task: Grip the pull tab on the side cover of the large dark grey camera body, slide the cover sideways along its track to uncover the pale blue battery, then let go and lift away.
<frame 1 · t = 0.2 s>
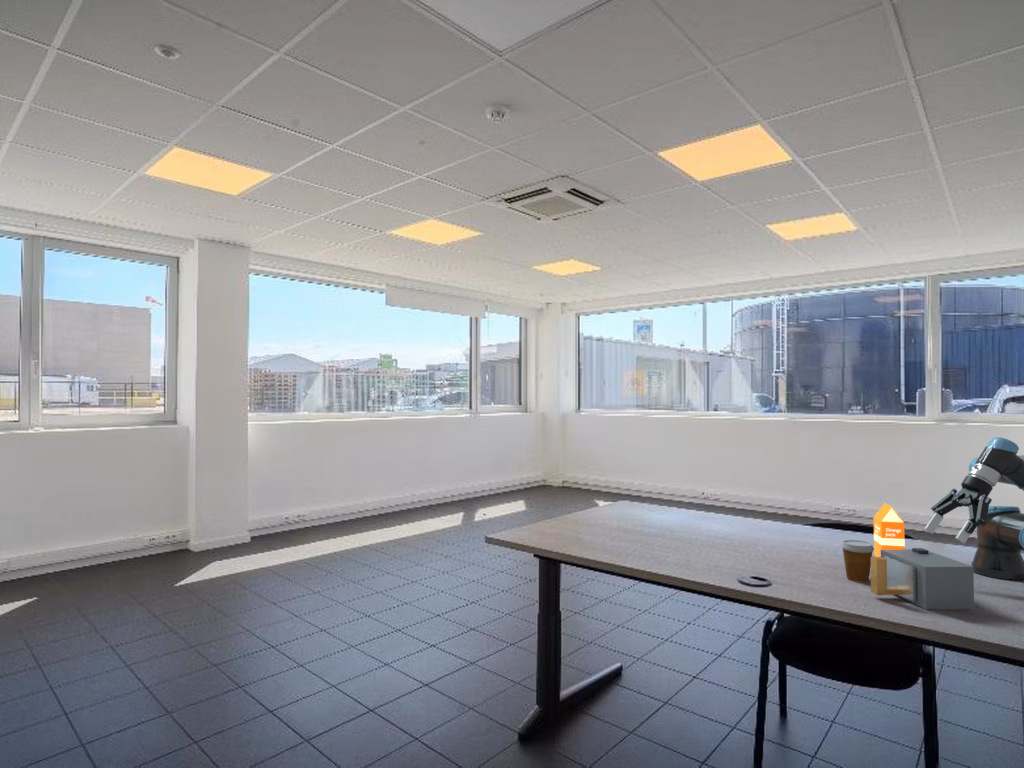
hand: (943, 536, 193), 16 cm above the table, tool tilted 35°, fingers open, 13 cm apart
disposable coffee cup: (857, 580, 201), on the table
side cover: (887, 576, 182), point 6 cm above the table, slide at 0.0 cm
orange juice: (889, 559, 227), on the table
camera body: (925, 597, 182), on the table
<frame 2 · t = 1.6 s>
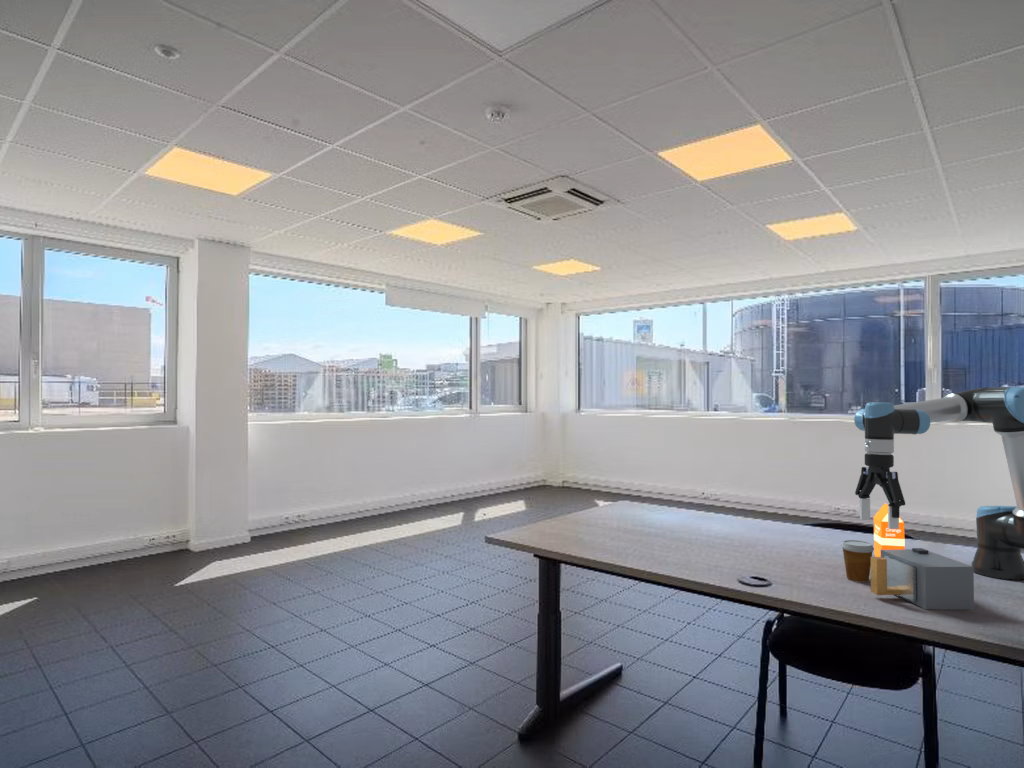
hand: (878, 524, 183), 22 cm above the table, tool pointing down, fingers open, 13 cm apart
nothing on the table moved.
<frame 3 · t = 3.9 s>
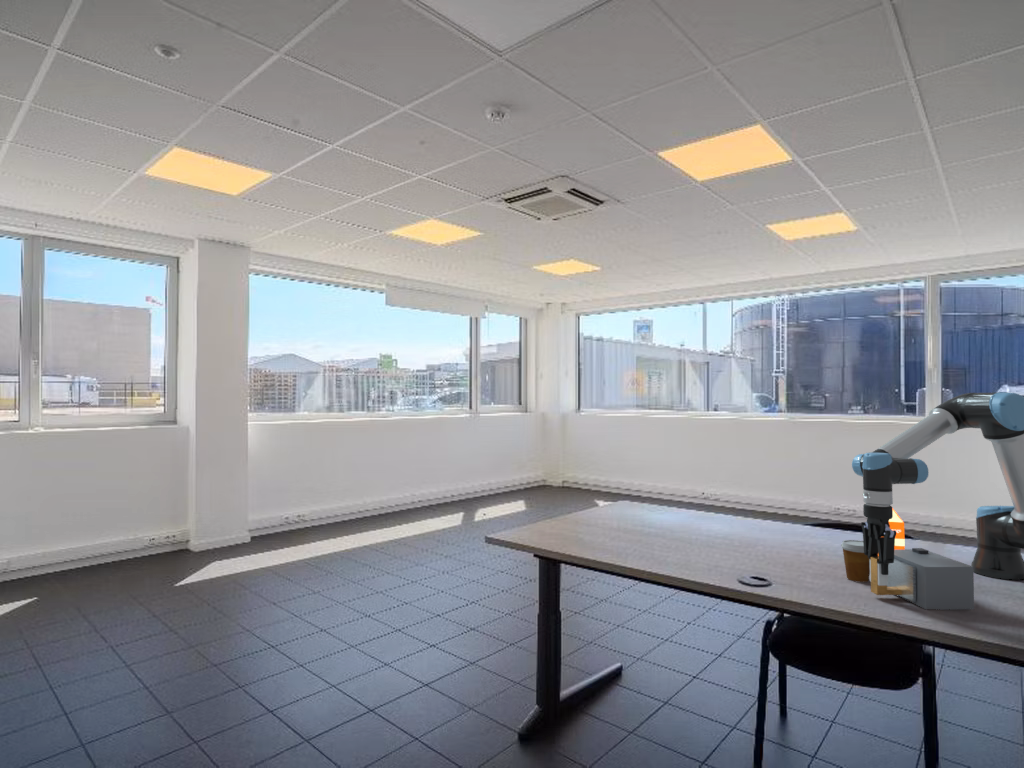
hand: (878, 583, 182), 5 cm above the table, tool pointing down, fingers closed on side cover, 3 cm apart
side cover: (887, 576, 182), point 6 cm above the table, slide at 0.0 cm, touching gripper
everything else where it was.
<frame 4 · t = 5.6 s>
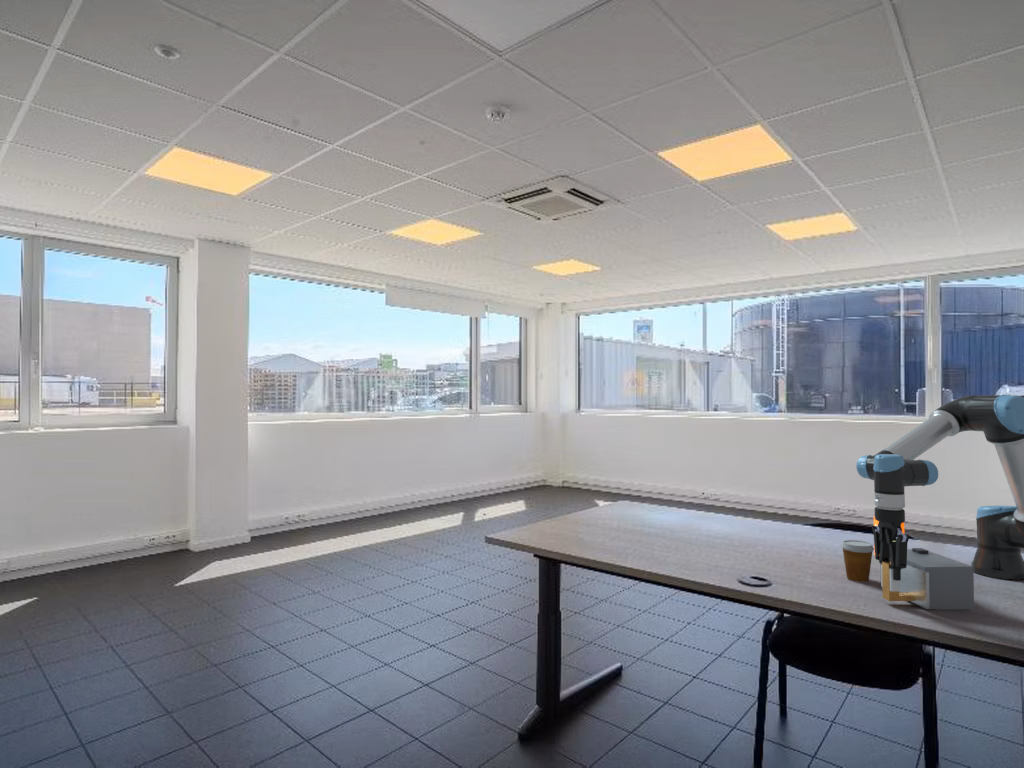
hand: (890, 588, 176), 5 cm above the table, tool pointing down, fingers closed on side cover, 3 cm apart
side cover: (899, 581, 177), point 6 cm above the table, slide at 5.5 cm, touching gripper
everything else where it was.
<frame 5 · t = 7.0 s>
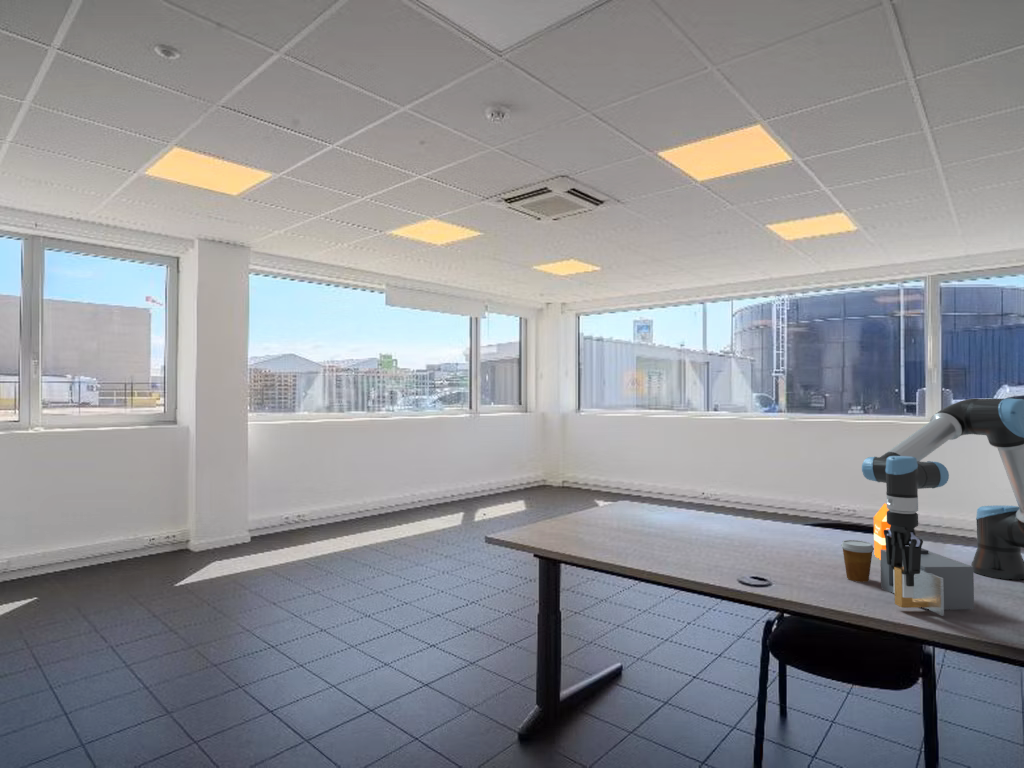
hand: (903, 594, 171), 5 cm above the table, tool pointing down, fingers closed on side cover, 3 cm apart
side cover: (912, 587, 171), point 6 cm above the table, slide at 10.9 cm, touching gripper
everything else where it was.
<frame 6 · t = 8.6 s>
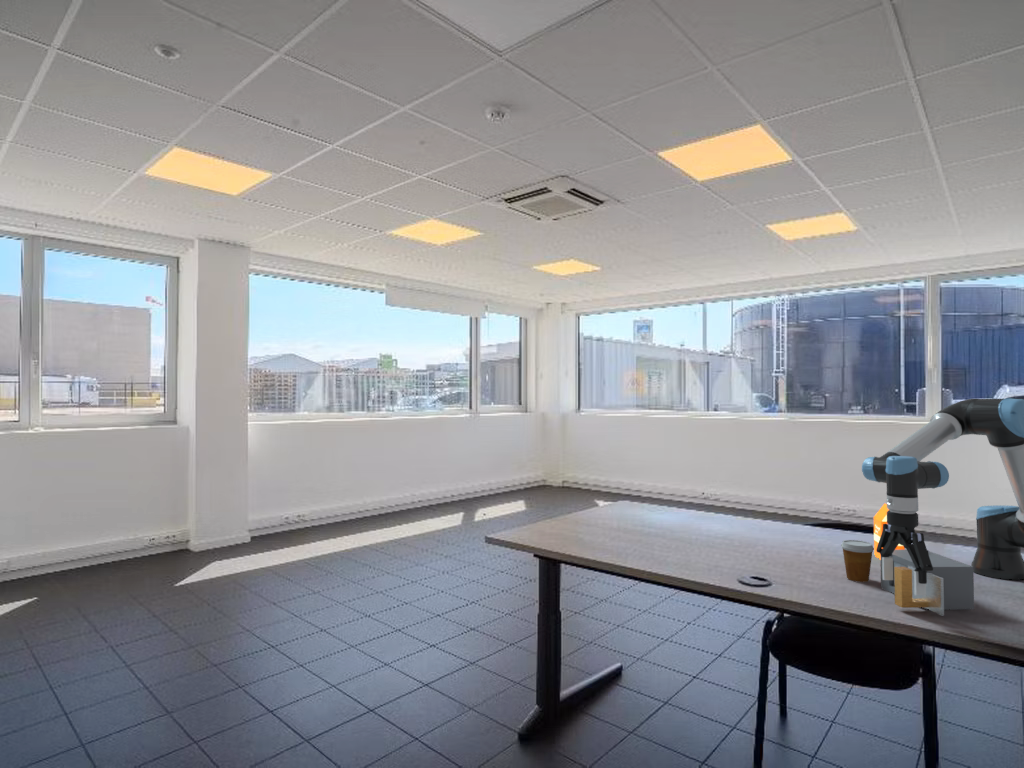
hand: (903, 587, 171), 7 cm above the table, tool pointing down, fingers open, 13 cm apart
side cover: (912, 587, 171), point 6 cm above the table, slide at 11.0 cm
everything else where it was.
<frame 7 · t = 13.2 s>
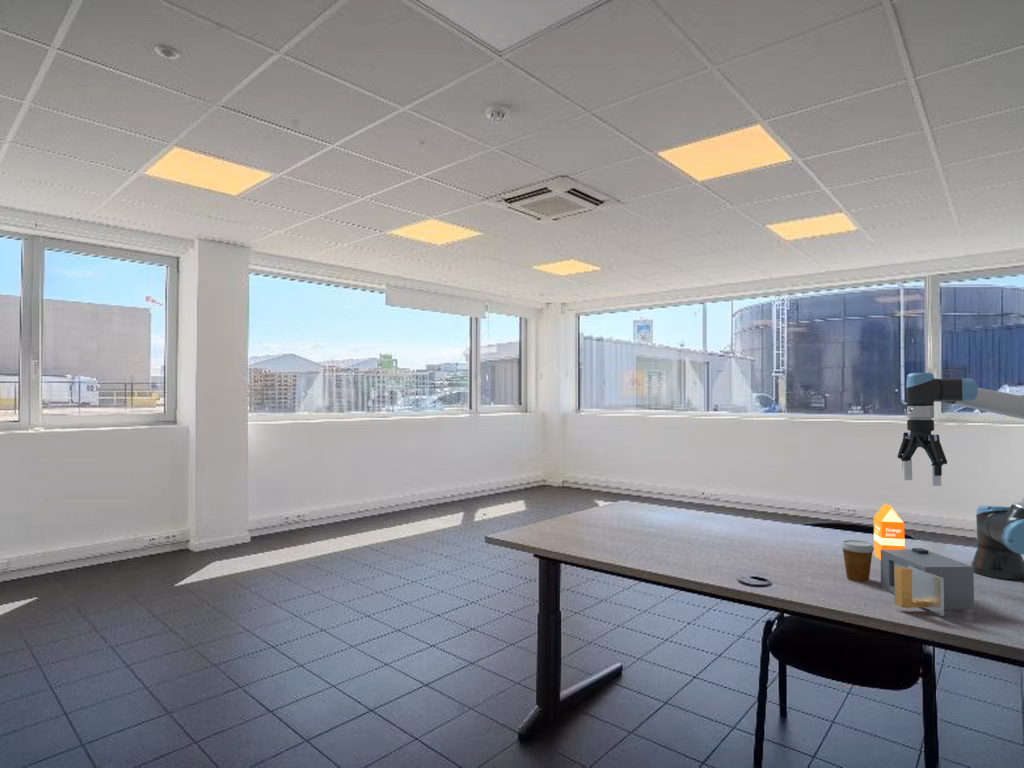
hand: (921, 482, 202), 32 cm above the table, tool pointing down, fingers open, 13 cm apart
nothing on the table moved.
at the end: side cover slide at 11.0 cm; disposable coffee cup moved 0.2 cm from its start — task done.
